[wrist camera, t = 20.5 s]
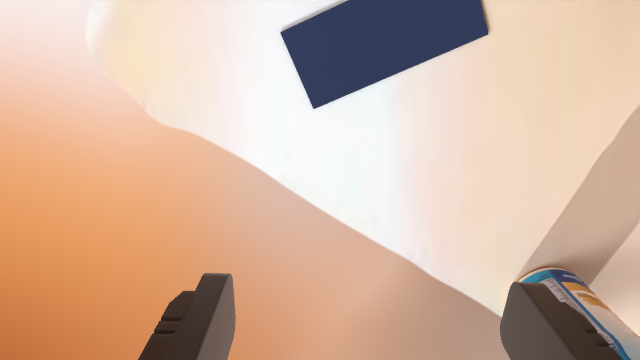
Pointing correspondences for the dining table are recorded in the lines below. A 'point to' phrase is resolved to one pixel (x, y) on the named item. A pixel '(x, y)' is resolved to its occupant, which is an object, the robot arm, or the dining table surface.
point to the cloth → (376, 41)
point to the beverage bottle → (589, 309)
